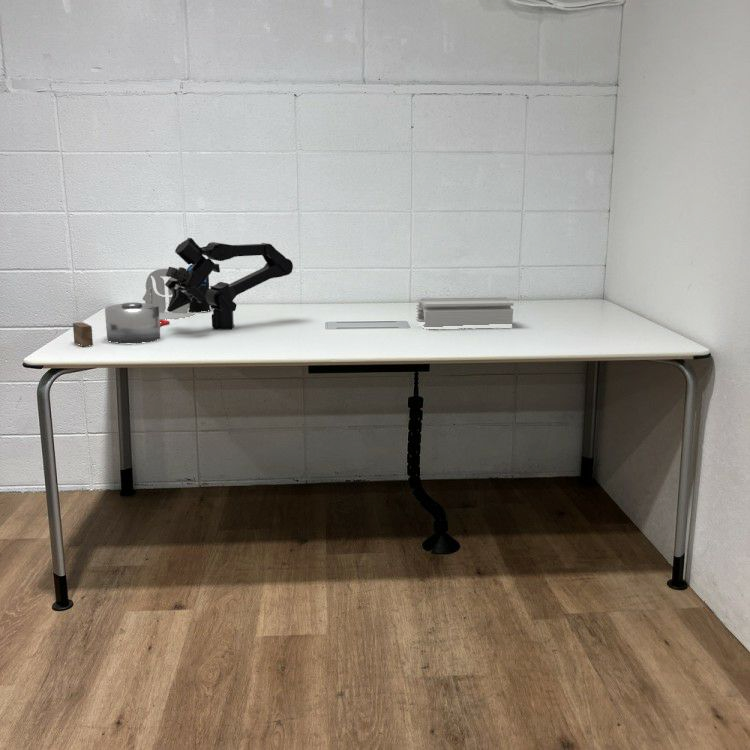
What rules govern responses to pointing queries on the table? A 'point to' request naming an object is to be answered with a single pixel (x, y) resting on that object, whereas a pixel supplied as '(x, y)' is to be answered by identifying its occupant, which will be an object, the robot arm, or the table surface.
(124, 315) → the cylinder
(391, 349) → the table surface
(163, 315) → the ornament
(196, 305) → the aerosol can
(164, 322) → the tow hook
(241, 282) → the robot arm
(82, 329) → the walnut block
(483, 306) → the aluminum extrusion profile
